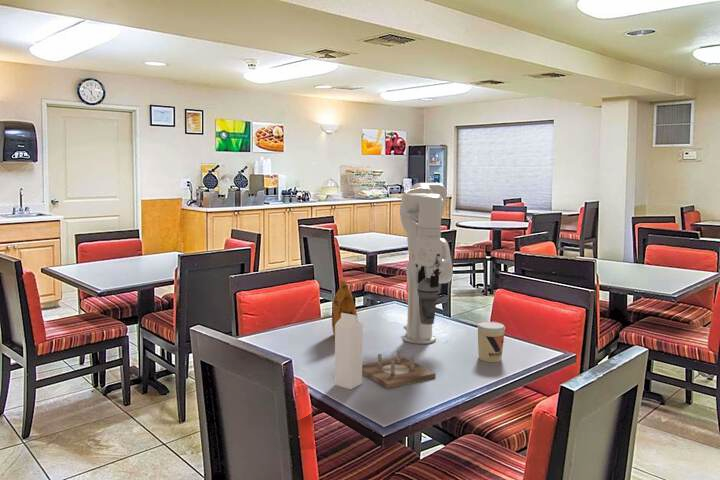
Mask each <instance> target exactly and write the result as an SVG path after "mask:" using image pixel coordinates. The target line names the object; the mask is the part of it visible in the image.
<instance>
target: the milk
mask: <svg viewBox="0 0 720 480" xmlns="http://www.w3.org/2000/svg"><path fill="white" fill-rule="evenodd" d="M357 320H358V315H357V316H356V315H351V314H346V313H341V318H340V319H339V320H338V322H337V323H336V324H335V336H334V385H335V386H337V387H341V388H343V389H347V390H352V389H355V388H357V387H359V386H360V385H362V384H363V373H362V365H363V323H362V322H360V321H359V320H358V321H357Z"/></svg>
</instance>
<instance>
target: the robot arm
mask: <svg viewBox="0 0 720 480" xmlns="http://www.w3.org/2000/svg"><path fill="white" fill-rule="evenodd" d="M447 194H448V193H447V188H446V187H445V186H444V184H443V183H441V182H440V183H439V182H417V183H414V184H413V185H412V186H410V187H409V189H408V190H407V189H406V190H405V191H404V192H403V194H402V196H401V201H400V202H401V204H400V208H399V217H400V223H401V225H402V227H403V230H404V232H405V233H406V238H407V240H406V241H407V248H408V249H407V250H408V251H407V252H408V256H409V258H410V259H409V260H408V261H407V262H406V265H405V272H406V280H407V322H406V323H407V324H406V325H403V329H404V330H406V332H405V333H404V334H403V336H402V338H403V339H402V340H404V341H405V342H407V343H410V344H415V345H416V344H419V345H423V344H424V345H426V344H431V343H434V342H435V341H436V340H437V337H436V335H435V334H433V324H430V325H426V324H422V323H421V321H420V309H419V296H418V290H417V289H418V285H419V283H420V281H421V280H423V279H425V269H424V267H426V273H427V278H430V287H431V288H433V287H438V288H439V285H440V284H448V283H450V282H451V281H452V279H453V277H454V276H453V275H454V273H453V271H454V270H453V263H452V256H451V250H450V246H449V245H450V244H449V242H448V241H447V240H446V239H445V238H444V237H443V238H442V236H441V235H442V233H441V230H442V227H441V226H442V225H441V223H442V218H443V215H444V212H445V211H444V210H445V208H446V207H445V206H446V203H447V197H448V196H447Z"/></svg>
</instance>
